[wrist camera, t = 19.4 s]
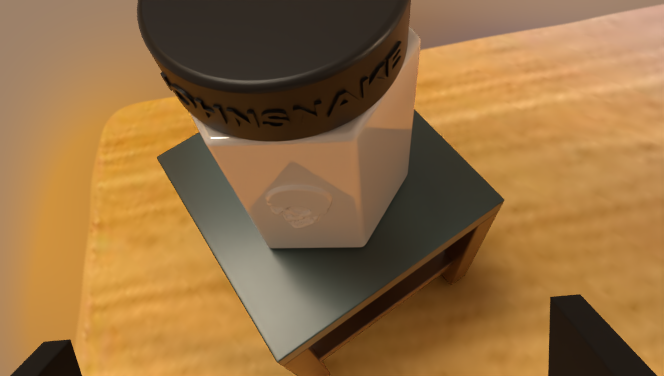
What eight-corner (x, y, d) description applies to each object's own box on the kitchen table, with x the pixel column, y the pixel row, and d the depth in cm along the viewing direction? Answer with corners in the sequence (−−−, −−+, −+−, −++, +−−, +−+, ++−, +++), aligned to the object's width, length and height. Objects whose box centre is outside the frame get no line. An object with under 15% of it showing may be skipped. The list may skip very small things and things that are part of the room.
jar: (224, 254, 23) (87, 97, 12) (243, 116, 27) (150, -95, 16) (412, 252, 22) (439, 82, 11) (403, 110, 26) (418, -118, 15)
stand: (358, 150, 39) (349, 43, 28) (466, 274, 33) (505, 199, 23) (221, 237, 36) (155, 156, 26) (313, 387, 31) (277, 363, 20)
